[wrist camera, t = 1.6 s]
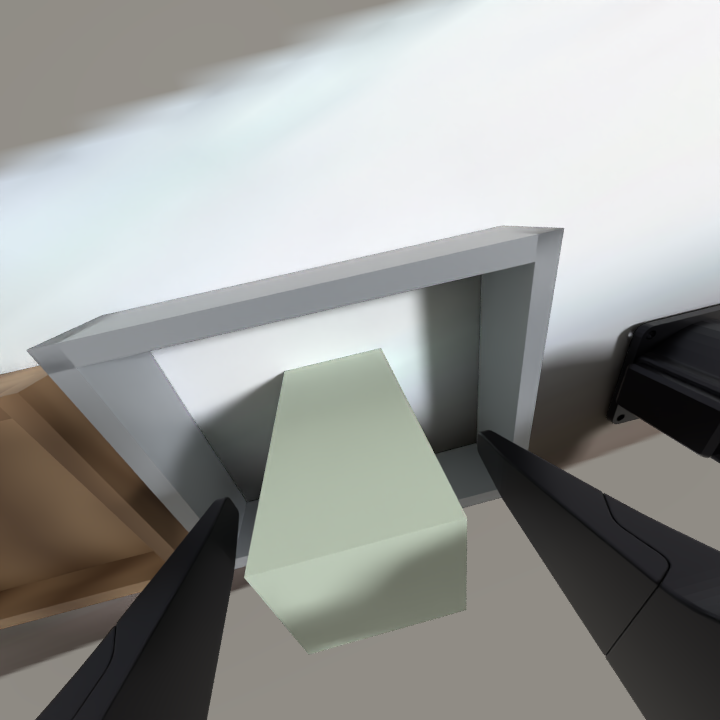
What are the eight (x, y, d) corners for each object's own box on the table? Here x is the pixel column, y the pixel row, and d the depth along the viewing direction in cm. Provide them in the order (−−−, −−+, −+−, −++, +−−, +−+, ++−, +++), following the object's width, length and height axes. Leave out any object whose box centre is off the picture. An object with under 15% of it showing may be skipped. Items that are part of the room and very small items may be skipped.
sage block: (380, 348, 12) (466, 517, 5) (393, 421, 15) (466, 609, 8) (284, 371, 12) (244, 577, 5) (311, 441, 14) (308, 654, 7)
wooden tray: (79, 356, 11) (18, 392, 8) (215, 528, 16) (200, 575, 14) (-248, 431, 10) (-404, 490, 8) (11, 581, 16) (-37, 639, 14)
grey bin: (502, 225, 11) (564, 228, 8) (488, 449, 17) (521, 492, 14) (101, 315, 10) (26, 350, 7) (238, 514, 16) (223, 571, 13)
